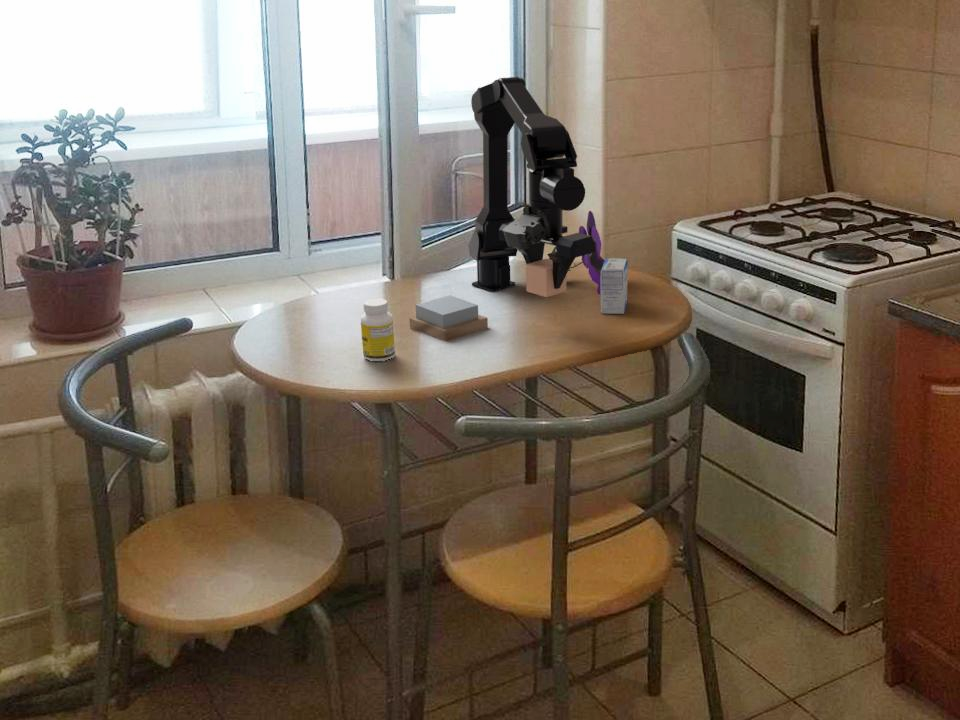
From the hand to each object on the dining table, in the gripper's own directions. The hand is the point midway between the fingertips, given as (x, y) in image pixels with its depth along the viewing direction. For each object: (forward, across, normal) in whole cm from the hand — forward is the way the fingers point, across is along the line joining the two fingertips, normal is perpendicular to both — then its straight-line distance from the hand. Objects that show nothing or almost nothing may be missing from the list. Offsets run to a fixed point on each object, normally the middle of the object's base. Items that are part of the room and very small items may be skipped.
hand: (546, 285), depth 198 cm
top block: (+6, -13, -12) cm, 19 cm away
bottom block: (+9, -13, -12) cm, 20 cm away
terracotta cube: (+1, 0, 0) cm, 1 cm away
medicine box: (+8, +1, +17) cm, 19 cm away
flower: (+8, -14, +22) cm, 27 cm away
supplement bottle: (+8, -10, -30) cm, 33 cm away
